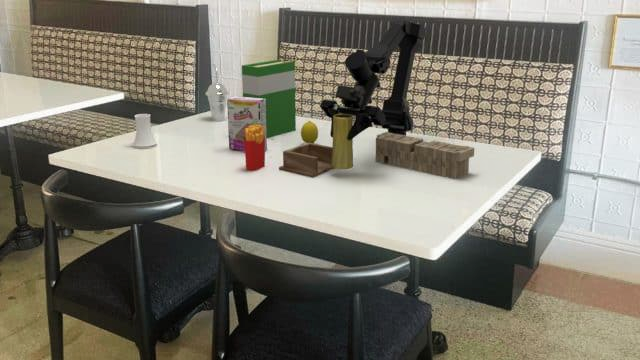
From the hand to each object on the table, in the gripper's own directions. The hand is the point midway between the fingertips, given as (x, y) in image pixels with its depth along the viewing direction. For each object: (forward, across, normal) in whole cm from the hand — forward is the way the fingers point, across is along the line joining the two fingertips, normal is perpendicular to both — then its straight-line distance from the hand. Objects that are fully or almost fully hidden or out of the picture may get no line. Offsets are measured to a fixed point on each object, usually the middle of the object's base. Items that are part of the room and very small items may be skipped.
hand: (339, 138), depth 176 cm
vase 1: (+16, -68, -1) cm, 70 cm away
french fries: (+13, -24, +2) cm, 27 cm away
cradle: (+7, -10, +8) cm, 15 cm away
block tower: (-6, +14, +23) cm, 27 cm away
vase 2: (+5, 0, +7) cm, 9 cm away
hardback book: (-9, -46, +25) cm, 53 cm away
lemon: (-6, -26, +22) cm, 35 cm away
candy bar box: (+5, -38, +11) cm, 40 cm away
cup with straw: (-12, -75, +28) cm, 81 cm away
